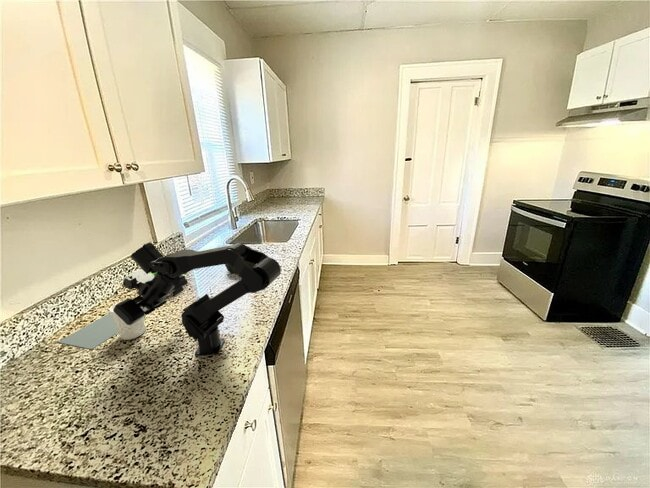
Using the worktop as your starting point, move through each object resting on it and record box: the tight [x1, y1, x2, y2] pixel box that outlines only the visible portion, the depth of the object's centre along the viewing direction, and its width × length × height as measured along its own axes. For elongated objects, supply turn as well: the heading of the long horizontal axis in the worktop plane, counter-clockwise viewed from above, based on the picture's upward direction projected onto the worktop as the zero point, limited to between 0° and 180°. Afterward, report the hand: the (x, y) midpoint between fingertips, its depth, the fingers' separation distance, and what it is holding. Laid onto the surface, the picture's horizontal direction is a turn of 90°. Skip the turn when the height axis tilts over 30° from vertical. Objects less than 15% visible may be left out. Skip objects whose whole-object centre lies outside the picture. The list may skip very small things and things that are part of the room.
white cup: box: [109, 298, 147, 341], centre depth 86 cm, size 8×8×10 cm
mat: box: [57, 312, 146, 350], centre depth 90 cm, size 14×18×1 cm
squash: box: [224, 243, 256, 275], centre depth 130 cm, size 14×15×15 cm
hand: (140, 313), depth 83 cm, fingers closed
